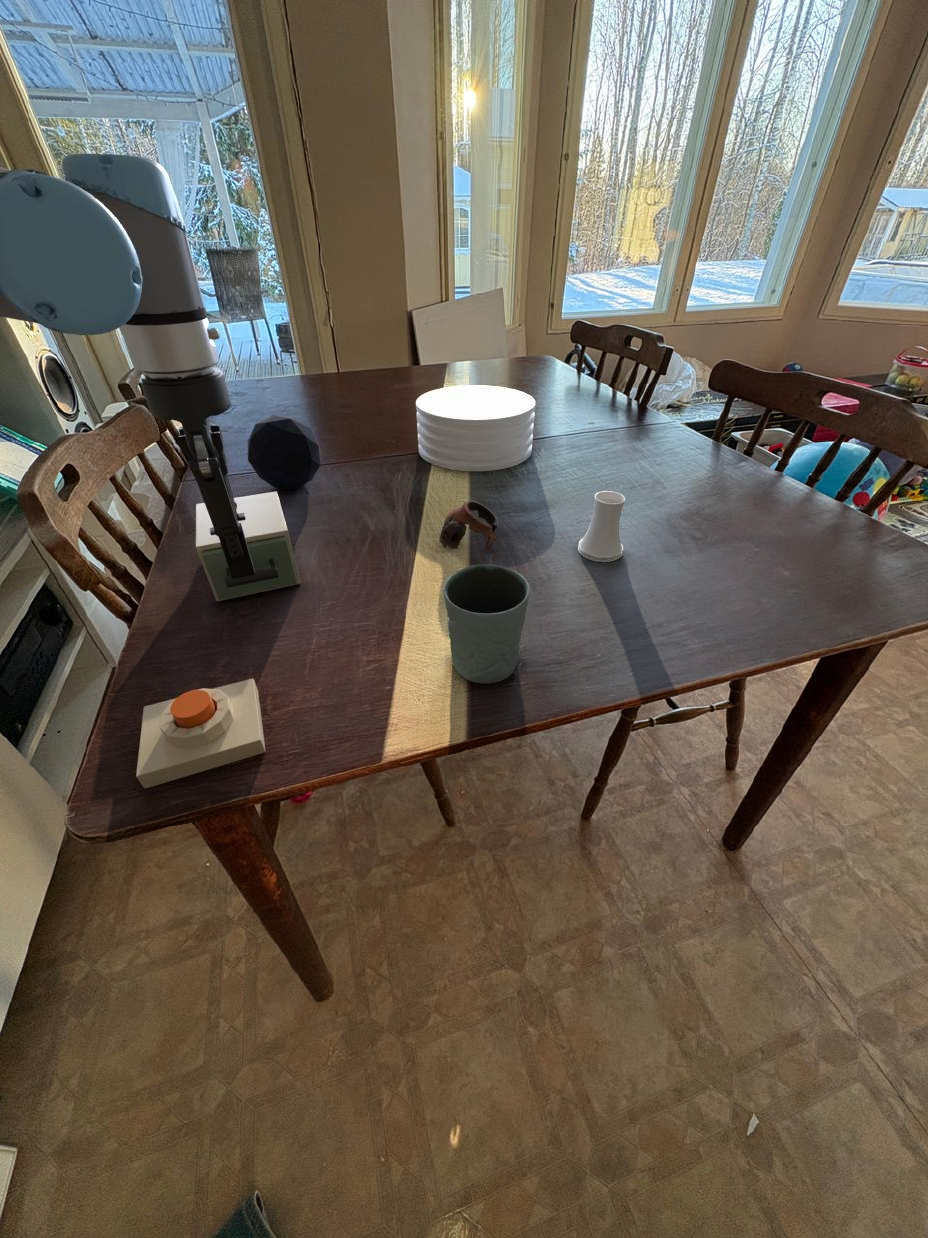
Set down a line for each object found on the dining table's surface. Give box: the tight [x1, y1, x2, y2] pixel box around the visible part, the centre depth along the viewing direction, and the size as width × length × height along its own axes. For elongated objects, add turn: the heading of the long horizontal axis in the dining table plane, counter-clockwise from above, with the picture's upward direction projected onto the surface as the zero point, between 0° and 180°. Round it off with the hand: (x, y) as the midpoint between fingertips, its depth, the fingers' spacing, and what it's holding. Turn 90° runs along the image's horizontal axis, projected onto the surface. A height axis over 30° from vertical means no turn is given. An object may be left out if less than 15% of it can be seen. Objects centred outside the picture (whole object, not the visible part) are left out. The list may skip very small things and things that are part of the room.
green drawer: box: [202, 536, 298, 601], centre depth 79 cm, size 18×11×8 cm, turn 22°
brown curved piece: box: [439, 500, 500, 550], centre depth 89 cm, size 12×10×8 cm
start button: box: [170, 689, 216, 729], centre depth 55 cm, size 4×4×2 cm
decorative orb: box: [247, 414, 322, 490], centre depth 107 cm, size 14×15×15 cm
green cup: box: [442, 563, 531, 685], centre depth 63 cm, size 10×10×12 cm
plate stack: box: [415, 384, 536, 472], centre depth 123 cm, size 28×28×12 cm
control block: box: [135, 677, 266, 790], centre depth 57 cm, size 12×10×4 cm
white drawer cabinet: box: [195, 490, 302, 602], centre depth 82 cm, size 15×13×10 cm
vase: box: [577, 490, 626, 563], centre depth 86 cm, size 8×8×10 cm
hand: (243, 573), depth 64 cm, fingers closed
